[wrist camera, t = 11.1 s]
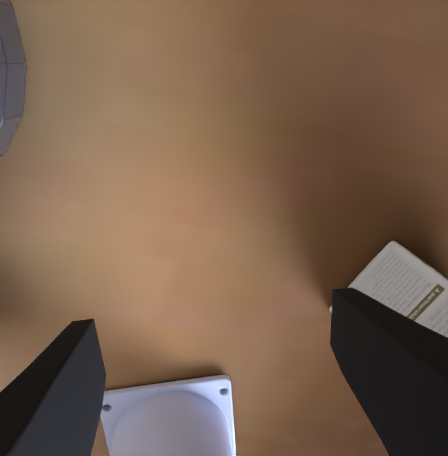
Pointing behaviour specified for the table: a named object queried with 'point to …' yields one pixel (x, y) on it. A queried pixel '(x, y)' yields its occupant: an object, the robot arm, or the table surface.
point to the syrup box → (406, 287)
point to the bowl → (10, 75)
